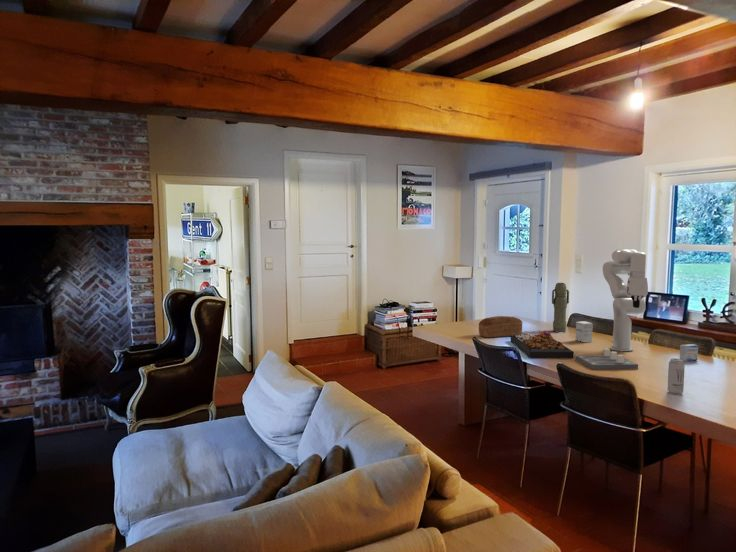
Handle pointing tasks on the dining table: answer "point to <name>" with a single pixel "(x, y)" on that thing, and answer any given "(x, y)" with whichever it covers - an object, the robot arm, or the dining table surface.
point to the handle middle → (613, 355)
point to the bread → (500, 326)
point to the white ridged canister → (584, 331)
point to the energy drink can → (676, 376)
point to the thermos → (560, 307)
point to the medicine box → (688, 352)
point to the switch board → (604, 362)
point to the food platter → (541, 346)
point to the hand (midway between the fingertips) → (636, 307)
